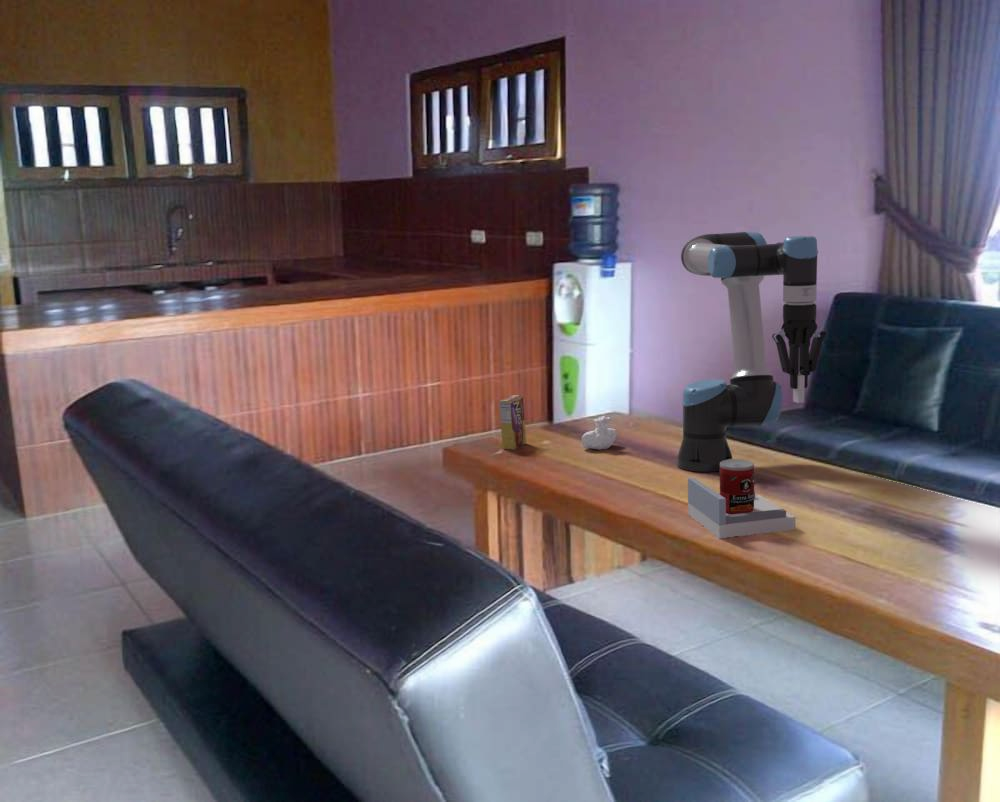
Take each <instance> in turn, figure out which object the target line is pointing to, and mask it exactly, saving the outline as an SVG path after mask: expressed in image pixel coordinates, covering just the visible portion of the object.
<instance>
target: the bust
mask: <svg viewBox="0 0 1000 802" xmlns="http://www.w3.org/2000/svg"><path fill="white" fill-rule="evenodd" d="M592 421H593V423H594V424H595V429H594V430H589V431H587V432H585V433H584V434H583V435H582V436H581V445H582V447H583V448H584V449H591V450H599V451H601V450H602V449H604V450H607V449H609V448H610V447H611V446H613V444H614V442H615V440H616V439H617V437H618V431H617V430H616V429H615V428H610V424H611V421H612V419H611V417H609V416H607V417H606V416H605V415H603V416H600V415H599V417H598V418H595V419H594V418H593V419H592ZM608 427H609V428H608ZM602 451H603V450H602Z"/></svg>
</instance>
